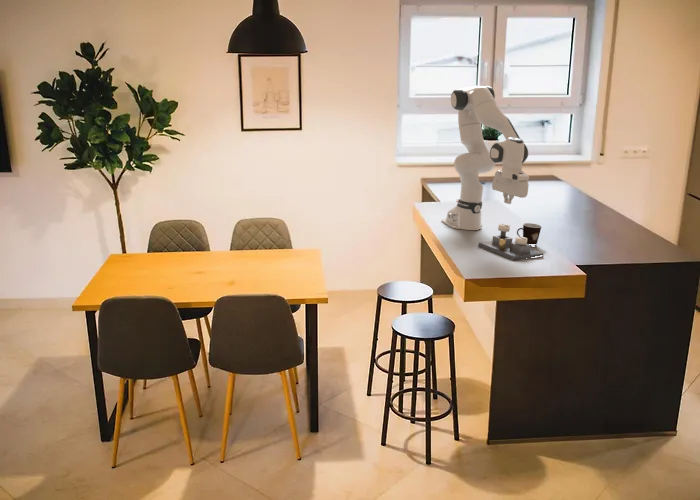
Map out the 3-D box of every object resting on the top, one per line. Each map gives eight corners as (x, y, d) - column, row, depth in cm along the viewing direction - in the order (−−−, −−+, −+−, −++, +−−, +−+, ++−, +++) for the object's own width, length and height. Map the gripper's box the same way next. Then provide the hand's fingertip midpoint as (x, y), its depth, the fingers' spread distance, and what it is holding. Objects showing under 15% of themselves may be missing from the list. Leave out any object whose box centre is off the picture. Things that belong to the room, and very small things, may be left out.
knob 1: (494, 236, 339) (496, 223, 337) (503, 235, 342) (504, 222, 340) (502, 239, 335) (504, 226, 333) (510, 238, 337) (512, 225, 336)
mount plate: (478, 246, 340) (479, 235, 338) (506, 243, 349) (508, 232, 348) (513, 260, 320) (515, 248, 319) (542, 257, 329) (544, 245, 328)
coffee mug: (537, 244, 353) (540, 224, 350) (539, 248, 344) (542, 228, 342) (513, 241, 354) (515, 221, 351) (515, 246, 345) (517, 226, 343)
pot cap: (497, 248, 332) (498, 237, 330) (501, 247, 333) (503, 237, 332) (501, 249, 330) (502, 239, 328) (506, 249, 331) (507, 239, 330)
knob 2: (511, 249, 330) (513, 236, 328) (519, 248, 333) (521, 235, 331) (519, 252, 326) (521, 239, 324) (528, 251, 328) (529, 238, 327)
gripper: (490, 169, 337) (487, 198, 341) (521, 177, 320) (517, 208, 324) (501, 169, 340) (497, 198, 344) (532, 177, 323) (528, 207, 327)
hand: (507, 203), depth 334 cm, fingers closed
